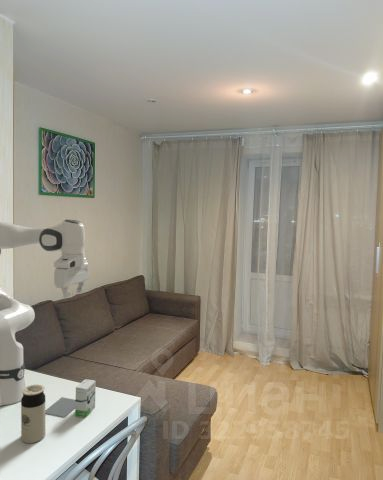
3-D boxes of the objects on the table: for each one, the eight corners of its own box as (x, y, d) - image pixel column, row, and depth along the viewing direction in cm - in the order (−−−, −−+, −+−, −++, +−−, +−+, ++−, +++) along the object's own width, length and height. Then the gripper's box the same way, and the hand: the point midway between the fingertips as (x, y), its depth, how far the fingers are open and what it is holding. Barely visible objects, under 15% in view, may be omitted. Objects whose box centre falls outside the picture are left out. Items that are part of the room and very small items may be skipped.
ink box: (86, 418, 149) (86, 389, 148) (74, 416, 150) (74, 387, 149) (95, 407, 157) (96, 379, 156) (85, 405, 158) (85, 378, 157)
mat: (42, 413, 151) (42, 412, 151) (61, 397, 164) (61, 397, 164) (64, 417, 149) (64, 416, 149) (82, 401, 161) (82, 400, 161)
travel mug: (38, 427, 141) (38, 381, 140) (49, 436, 136) (49, 388, 135) (17, 437, 135) (16, 389, 134) (28, 446, 130) (28, 396, 129)
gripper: (80, 257, 161) (80, 288, 162) (51, 263, 141) (50, 299, 142) (93, 258, 159) (93, 290, 160) (65, 264, 139) (65, 301, 141)
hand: (73, 294), depth 151 cm, fingers open, 8 cm apart
